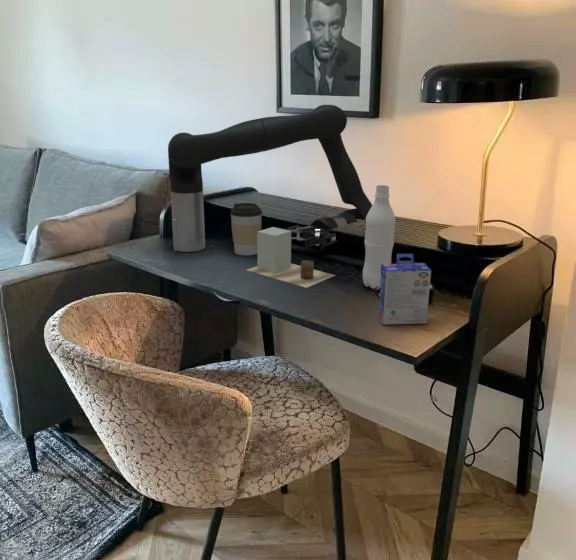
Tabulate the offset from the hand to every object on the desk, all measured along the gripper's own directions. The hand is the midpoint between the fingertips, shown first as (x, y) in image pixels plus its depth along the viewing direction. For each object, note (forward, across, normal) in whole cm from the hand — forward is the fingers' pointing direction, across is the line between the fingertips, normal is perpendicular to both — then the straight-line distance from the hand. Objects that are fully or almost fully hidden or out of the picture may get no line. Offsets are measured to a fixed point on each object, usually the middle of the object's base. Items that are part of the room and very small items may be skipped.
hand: (293, 240), depth 164 cm
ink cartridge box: (+13, +42, +7) cm, 44 cm away
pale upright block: (+8, 0, +6) cm, 10 cm away
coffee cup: (+2, -16, +7) cm, 17 cm away
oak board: (+8, +6, +7) cm, 12 cm away
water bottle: (-1, +26, +7) cm, 27 cm away
